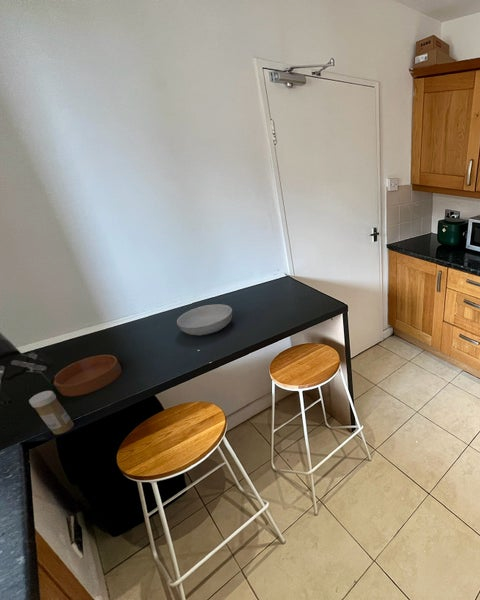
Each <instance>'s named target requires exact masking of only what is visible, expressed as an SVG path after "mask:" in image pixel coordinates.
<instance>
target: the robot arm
mask: <svg viewBox="0 0 480 600" xmlns="http://www.w3.org/2000/svg"><path fill="white" fill-rule="evenodd" d="M30 359H32V360H39V361H40V362H41V363H42V364H44V365H39V364H37V363H33V362H32V363H31V362H30ZM54 366H55V365H54V361H53V360H52V359H51V358H50V357H49V356H47V354H45V353H44V352H43V351H42V350H41V349H39V348H37V349H36V348H35V349H34V350H33V352H31V353H28V354H24V353H22V352H21V351H20V350H19V349H18V348H17V347H16V346H15V344H13V342H11V341H10V340H9V338H8V337H7V336H6V335H4V334H3V332H1V331H0V404H2V405H5V404H7V405H11V404H12V403H13V402H12V400H11V399H10V398H9V397H8V396H7V395H6V393H4V391H2V387H3V384H4V381H11V380H13V379H14V378H16V377H19V376H21V375H24V374H25V373H26V372H28V373H38V374H41V376H42V377H43V378H44V379H45V380H46V381H47V382H48V383H49V384H50V385H52V384H53V383H54V380H55V375H54V374H53V373H52V372H51V371H50V369H52V368H54Z"/></svg>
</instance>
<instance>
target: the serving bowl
mask: <svg viewBox="0 0 480 600" xmlns="http://www.w3.org/2000/svg"><path fill="white" fill-rule="evenodd" d="M232 318H233V309H232V307H231V306H229V305H227V304H220V303H216V304H206V305H202V306H198V307H194V308H192V309H190V310H187V311H185V312H184V313H182V314H181V315H180V316H179V317H177V319H176V325H177V326H178V328H179V329H180V330H181V331H182V332H184V334H185V333H186V334H188V335H191V336H205V335H209V334H214V333H216V332H218V331H220V330H222V329H224V328H225V327H227V326H228V325H229V324H230V322H231V320H232Z"/></svg>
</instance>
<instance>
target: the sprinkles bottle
mask: <svg viewBox="0 0 480 600" xmlns="http://www.w3.org/2000/svg"><path fill="white" fill-rule="evenodd" d="M28 403H29V404H30V405H31V407H32V408H33V409H35V412H37V413H38V415H39V417H40V418H41V420H42V421H43V423H45V425H46V426H47V428H48V429H49V430H50V431H51V432H52V433H53V435H61V434H64V433H67V432H68V431H70V430H71V429H72V428H73V427H74V425H75V423H74V421H73V420H72V419H71V417H70V415H69V414H68V413H67V411H66V409H64V407H63V406H62V404H61V403H60V401H59V400H58V398H57V395H56V394H55V392H54V391H53V390H44V391H41V392H38V393H36V394H34V395H33V396H32V397H30V399H29V400H28Z"/></svg>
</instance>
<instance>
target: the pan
mask: <svg viewBox="0 0 480 600" xmlns="http://www.w3.org/2000/svg"><path fill="white" fill-rule="evenodd" d="M122 371H123V368H122V365H120V362H119V360H118V359H117V357H116V356H115V355H112V354H101V355H100V354H99V355H93V356H90V357H85V358H82V359H80V360H77V361H75V362H73V363H71V364H69V365H66V366H65V367H64V368H62V369H61V370H59V371H58V372H57V373H56V374H55V375H54V376H55V380H54V383H52V384H53V385H54V388H55V389H56V390H57V391H58V392H59V394H60V395H62V396H64V397H78V396H83V395H87V394H90V393H93V392H95V391H98V390H101V389H102V388H105V387H106V386H108V385H110V384H111V383H112V382H114V381H115V380H117V379H118V378H119V376H120V375H121V374H122Z"/></svg>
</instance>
